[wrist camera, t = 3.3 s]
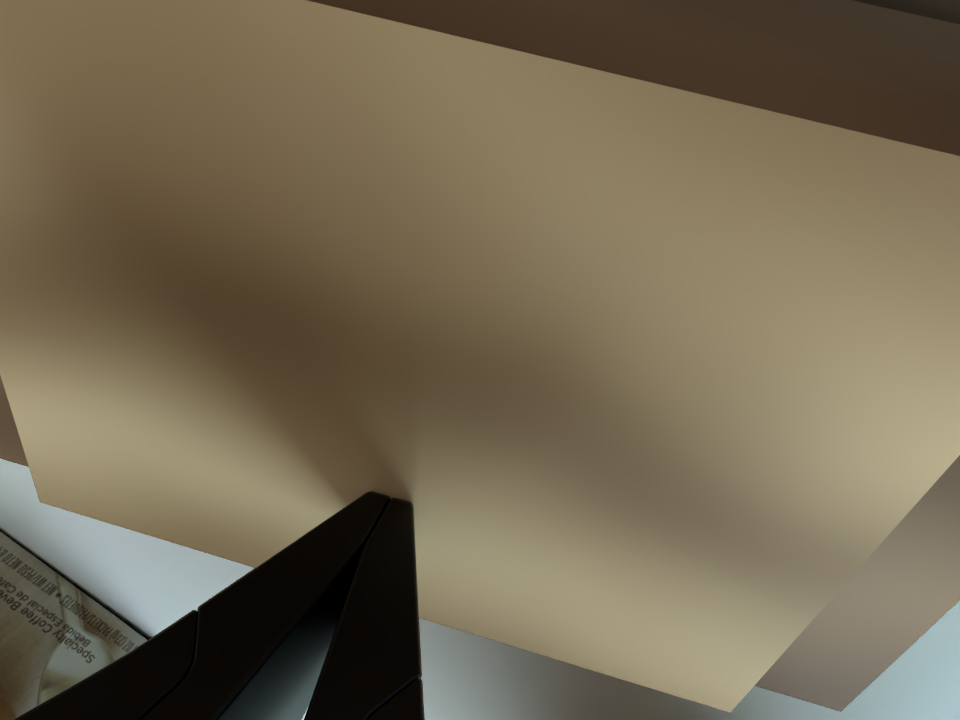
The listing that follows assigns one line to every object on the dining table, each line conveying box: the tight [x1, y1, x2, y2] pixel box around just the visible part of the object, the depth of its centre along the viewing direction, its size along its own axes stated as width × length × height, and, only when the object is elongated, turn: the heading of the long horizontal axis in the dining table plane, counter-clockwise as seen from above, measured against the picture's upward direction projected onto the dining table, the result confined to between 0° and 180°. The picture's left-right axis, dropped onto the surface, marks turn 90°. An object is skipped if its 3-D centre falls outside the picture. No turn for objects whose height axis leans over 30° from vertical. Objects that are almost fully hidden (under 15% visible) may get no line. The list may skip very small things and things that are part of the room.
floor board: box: [0, 0, 960, 711], centre depth 8 cm, size 16×22×3 cm
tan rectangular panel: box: [0, 0, 960, 712], centre depth 8 cm, size 10×15×2 cm, turn 78°
